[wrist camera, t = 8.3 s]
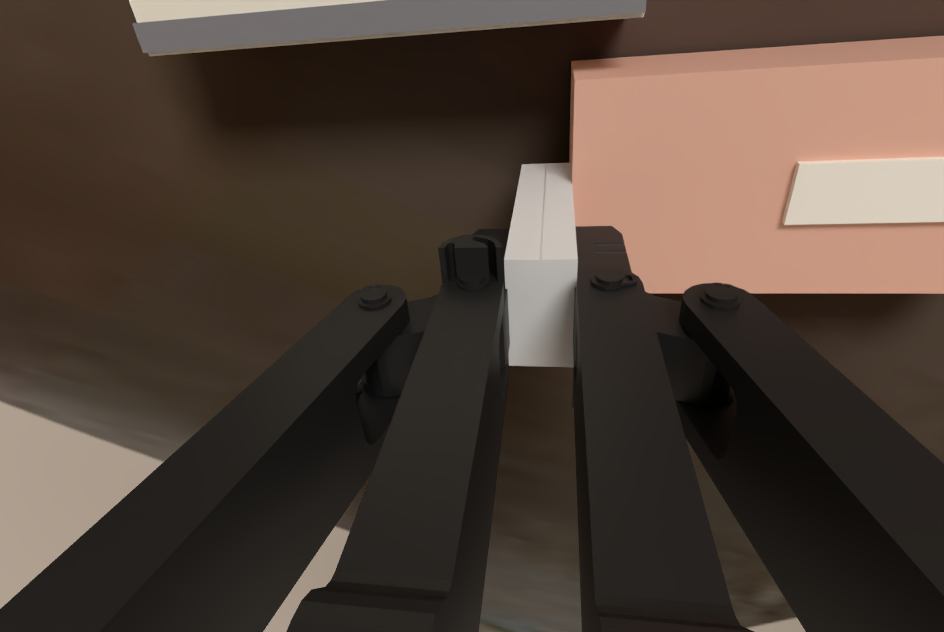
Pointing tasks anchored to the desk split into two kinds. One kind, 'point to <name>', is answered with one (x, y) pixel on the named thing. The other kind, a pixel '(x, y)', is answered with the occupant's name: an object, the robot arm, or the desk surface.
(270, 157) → the desk surface
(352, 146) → the desk surface
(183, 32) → the cream block with stripe
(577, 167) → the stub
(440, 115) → the desk surface
